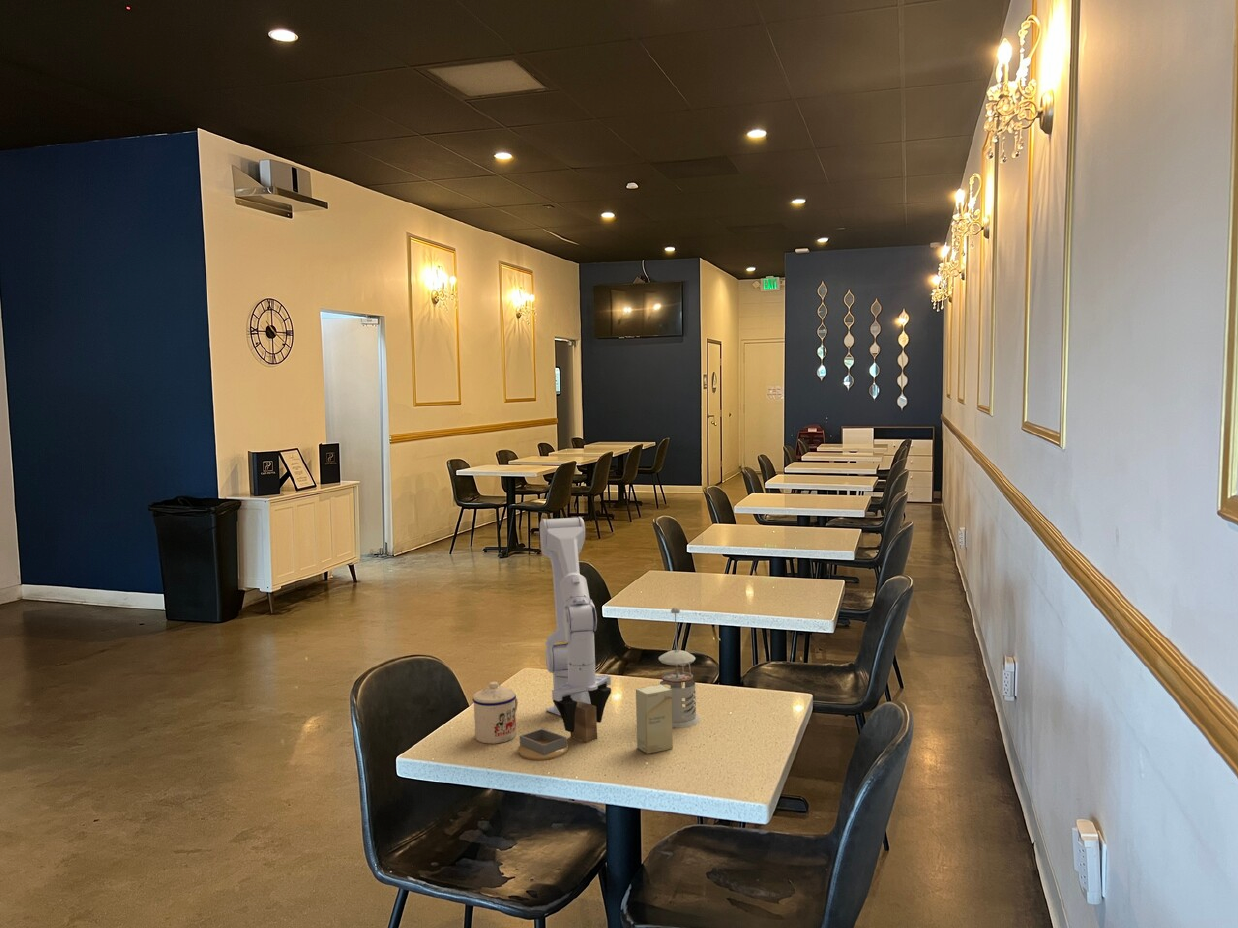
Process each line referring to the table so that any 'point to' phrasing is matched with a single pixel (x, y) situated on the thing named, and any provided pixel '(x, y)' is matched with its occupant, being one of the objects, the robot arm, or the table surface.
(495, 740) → the teacup with lid
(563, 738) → the grey open box
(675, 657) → the french press
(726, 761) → the table surface
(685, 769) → the table surface
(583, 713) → the brown wooden block
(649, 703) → the skincare box
